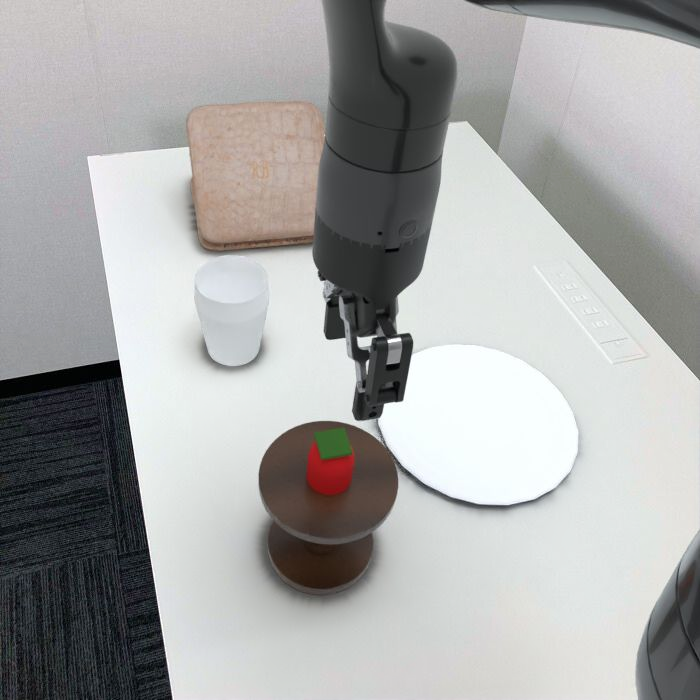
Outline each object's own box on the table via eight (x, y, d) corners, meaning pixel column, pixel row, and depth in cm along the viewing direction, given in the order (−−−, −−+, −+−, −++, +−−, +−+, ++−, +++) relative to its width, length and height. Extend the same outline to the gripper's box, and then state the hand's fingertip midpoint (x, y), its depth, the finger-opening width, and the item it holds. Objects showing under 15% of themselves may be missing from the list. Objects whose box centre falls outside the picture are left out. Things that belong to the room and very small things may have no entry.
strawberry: (356, 490, 67) (363, 457, 64) (312, 499, 66) (315, 466, 63) (344, 453, 70) (349, 419, 66) (301, 461, 69) (304, 427, 65)
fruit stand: (397, 588, 75) (417, 522, 66) (272, 618, 72) (274, 552, 62) (361, 483, 83) (374, 411, 74) (247, 504, 80) (246, 432, 71)
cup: (251, 382, 92) (250, 313, 84) (185, 361, 94) (178, 291, 85) (279, 335, 98) (281, 266, 90) (217, 316, 100) (213, 246, 91)
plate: (397, 519, 81) (399, 513, 80) (360, 353, 97) (361, 347, 97) (608, 500, 85) (612, 494, 84) (537, 344, 102) (540, 338, 101)
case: (200, 257, 108) (193, 162, 96) (187, 177, 122) (180, 85, 110) (336, 247, 112) (345, 155, 101) (309, 170, 126) (314, 81, 115)
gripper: (292, 147, 50) (285, 318, 62) (349, 284, 41) (328, 455, 53) (396, 140, 52) (370, 307, 64) (472, 270, 43) (425, 437, 55)
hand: (351, 374), depth 58 cm, fingers open, 8 cm apart
